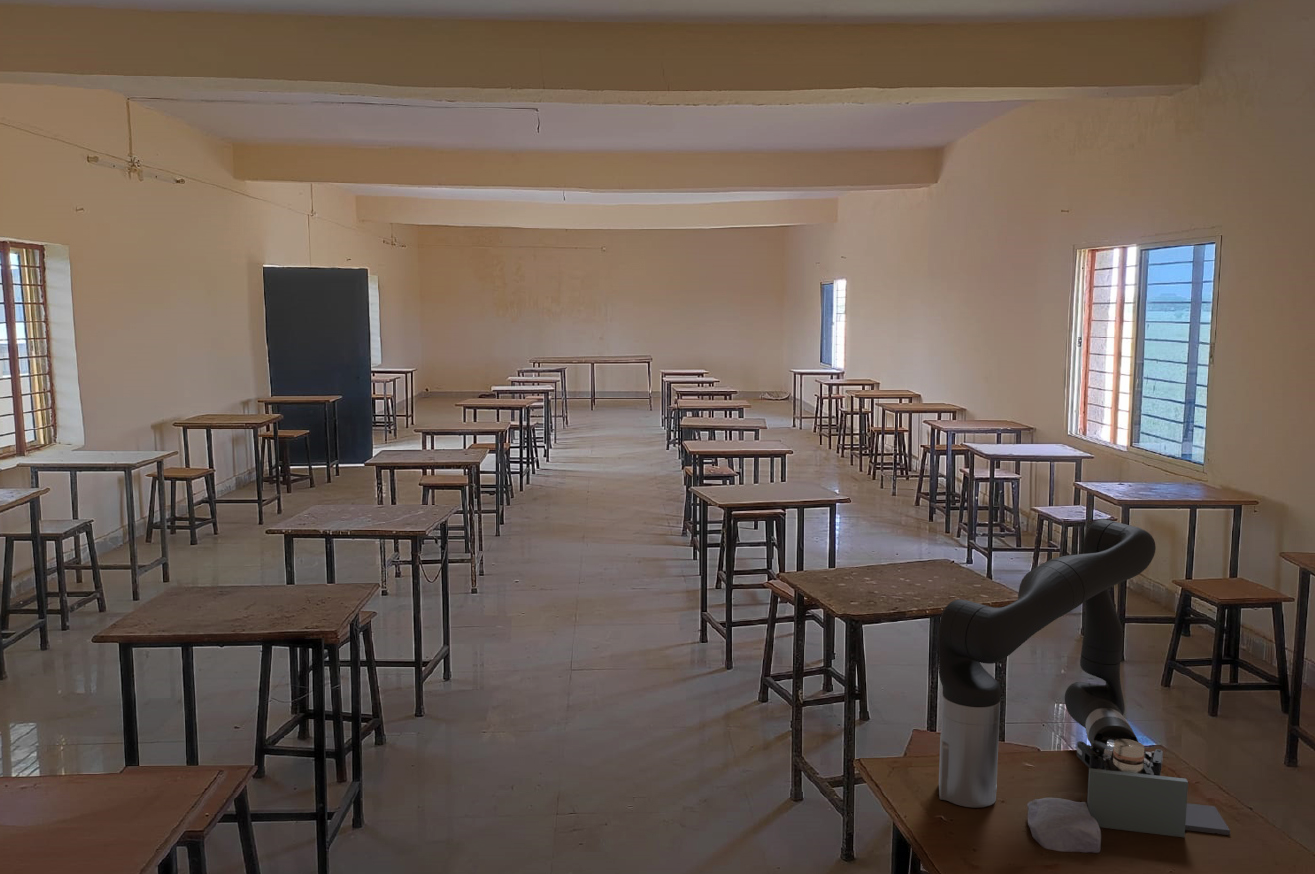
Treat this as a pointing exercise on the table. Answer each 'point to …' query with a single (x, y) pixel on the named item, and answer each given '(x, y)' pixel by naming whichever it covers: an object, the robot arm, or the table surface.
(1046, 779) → the table surface
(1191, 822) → the dark rubber mat
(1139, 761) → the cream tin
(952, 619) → the robot arm
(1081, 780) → the table surface
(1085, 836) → the stone block
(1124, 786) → the slate screen
